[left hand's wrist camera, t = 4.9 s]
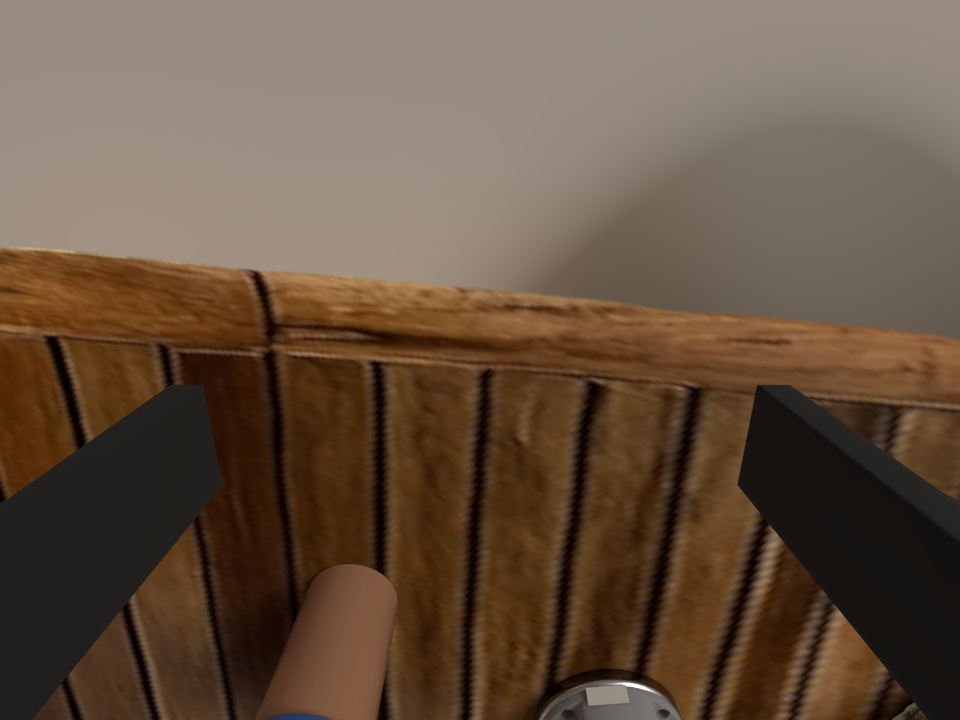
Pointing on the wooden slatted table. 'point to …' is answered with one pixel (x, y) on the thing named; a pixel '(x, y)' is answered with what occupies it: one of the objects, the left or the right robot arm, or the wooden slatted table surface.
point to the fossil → (911, 714)
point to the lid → (296, 717)
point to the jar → (336, 648)
